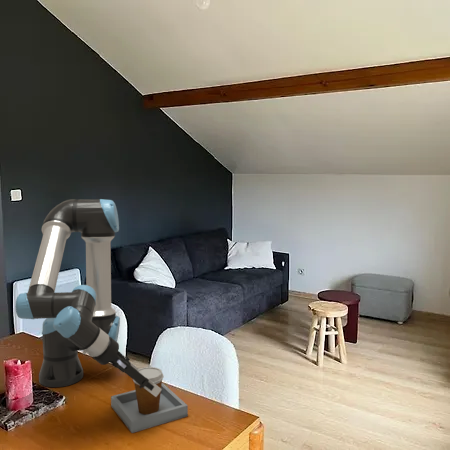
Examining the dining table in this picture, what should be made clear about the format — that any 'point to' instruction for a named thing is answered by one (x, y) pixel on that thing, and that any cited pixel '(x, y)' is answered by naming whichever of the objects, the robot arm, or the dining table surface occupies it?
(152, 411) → the disposable coffee cup
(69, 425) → the dining table surface
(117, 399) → the tray
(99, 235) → the robot arm
